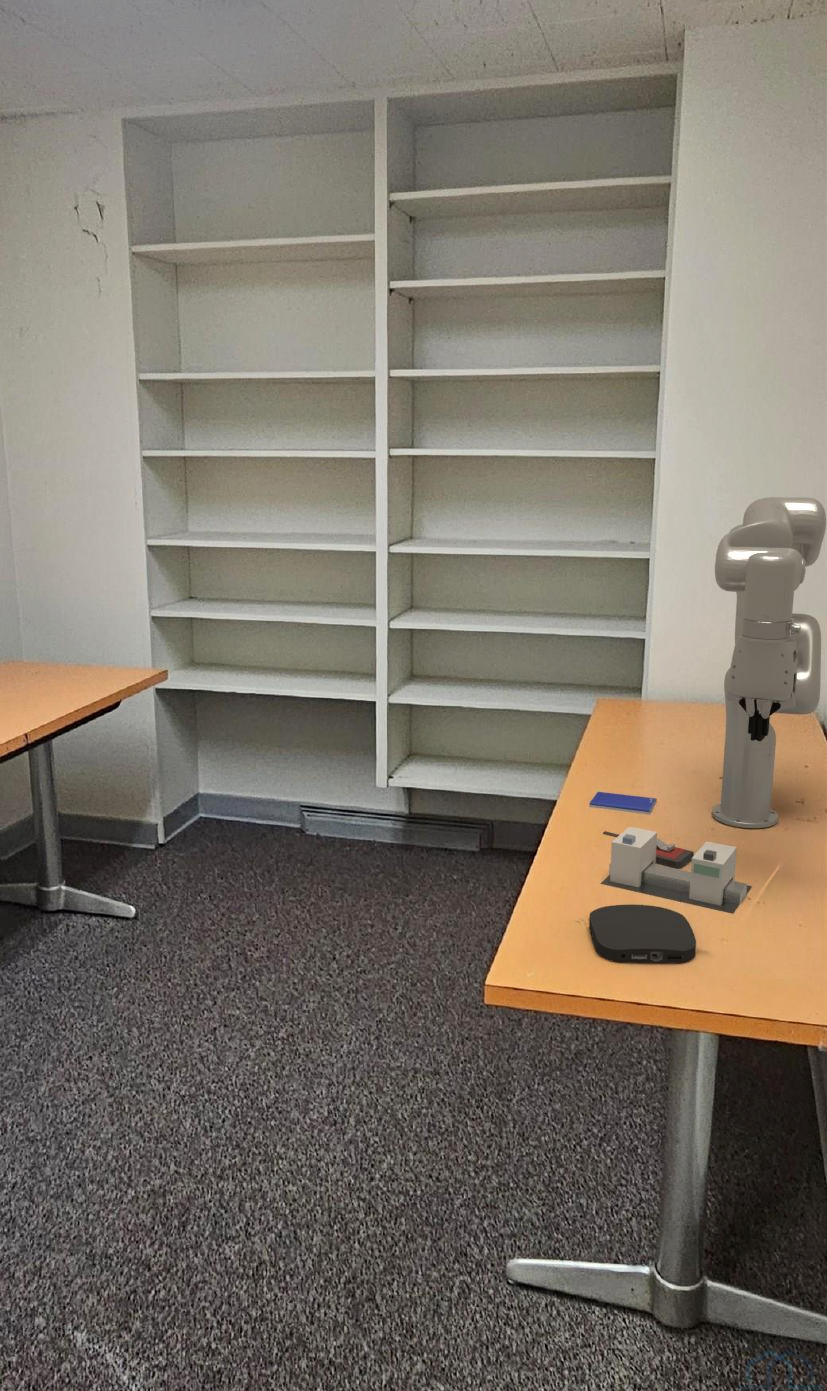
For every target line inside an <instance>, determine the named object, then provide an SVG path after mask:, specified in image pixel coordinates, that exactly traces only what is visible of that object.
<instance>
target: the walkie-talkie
mask: <svg viewBox="0 0 827 1391" xmlns="http://www.w3.org/2000/svg"><path fill="white" fill-rule="evenodd" d="M602 834H603V835H605V836H609V837H614V838H617V837H618V836H619V835H620V834H618V833H614V832H611V831H607V830H604V831H603V832H602ZM694 855H695V851H692V850H689V849H685V848H681V847H677V846H676V844H674V843H670V844H667V843H666V842H664V841H662V840H661V839H660V838H659V837H657V845H656V865H660V866H665V867H670V868H675V869H680V870H682V869H683V868H684V867H685V866H687V865H688V863H691V862H692V857H693V856H694Z"/></svg>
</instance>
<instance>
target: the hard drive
mask: <svg viewBox="0 0 827 1391" xmlns="http://www.w3.org/2000/svg"><path fill="white" fill-rule="evenodd" d="M657 801H658V800H657V798H655V797H647V796H646V797H645V796H638V795H629V794H623V793H622V794H621V793H613V792H603V791H597V792H596V793H595V795H594V796H593V798H592V799H591V800H590V801H589V808H596V809H600V810H601V809H603V810H610V811H618V812H627V813H632V814H633V813H634V814H641V815H643V814H644V815H650V814H651V813H652V811H653V810H654V808H655V806H656V804H657Z"/></svg>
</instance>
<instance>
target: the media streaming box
mask: <svg viewBox="0 0 827 1391" xmlns="http://www.w3.org/2000/svg"><path fill="white" fill-rule="evenodd" d="M588 924H589V926H588V927H589V932H590V936H591V937H592V938H591V941H592V944H593V947H594V950H595V951H596V954H598V955H599V956H600V957H601V958H602V959H603V958H604V959H605V960H608V961H609V962H610V961H611V962H614V963H626V964H627V963H628V964H684V963H688V962H691V961H692V960H693V959H694V958H695V957H696V948H697V939H696V935H695V933H694V931H693V929H692V926H691V924H690V923H689V920H688V919H687V917H685V916H684V915H683V914H682V913H680V912H678V911H675V910H672V909H669V908H666V907H661V906H656V905H646V904H615V905H607V906H602V907H599V908H598V907H597V909H594V910H592V911H591V912H590V913H589V922H588Z"/></svg>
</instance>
